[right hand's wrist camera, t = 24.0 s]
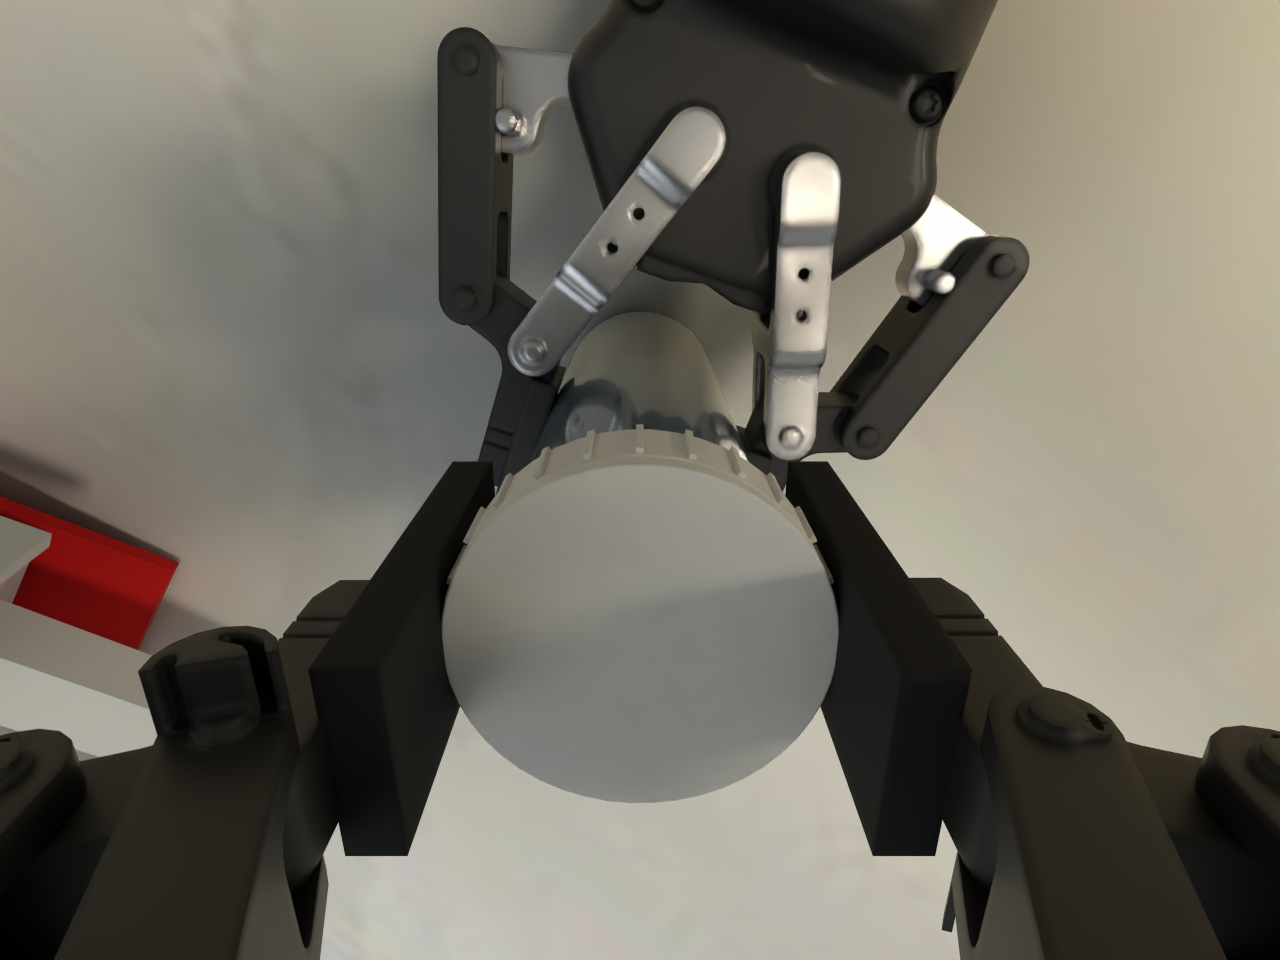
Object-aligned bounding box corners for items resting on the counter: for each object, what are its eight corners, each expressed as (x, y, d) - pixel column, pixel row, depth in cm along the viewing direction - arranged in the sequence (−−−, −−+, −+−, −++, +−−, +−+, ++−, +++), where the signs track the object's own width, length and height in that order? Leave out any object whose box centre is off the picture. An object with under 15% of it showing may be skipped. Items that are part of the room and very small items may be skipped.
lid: (865, 459, 11) (900, 501, 10) (769, 759, 13) (786, 831, 12) (481, 389, 11) (455, 422, 9) (445, 710, 13) (420, 778, 11)
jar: (716, 312, 24) (815, 468, 11) (707, 453, 26) (782, 741, 12) (567, 308, 24) (473, 459, 10) (569, 449, 26) (489, 734, 12)
